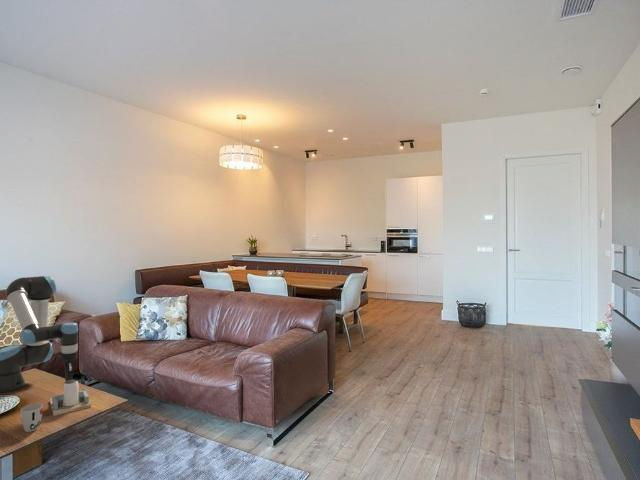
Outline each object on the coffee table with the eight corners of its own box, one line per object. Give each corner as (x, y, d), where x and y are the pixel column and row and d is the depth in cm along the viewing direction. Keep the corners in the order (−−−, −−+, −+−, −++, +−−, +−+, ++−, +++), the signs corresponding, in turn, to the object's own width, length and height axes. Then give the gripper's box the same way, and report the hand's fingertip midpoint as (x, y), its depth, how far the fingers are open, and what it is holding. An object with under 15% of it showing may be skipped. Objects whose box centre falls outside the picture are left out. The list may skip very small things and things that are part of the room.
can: (75, 400, 201) (75, 378, 201) (80, 403, 197) (80, 381, 197) (61, 404, 196) (61, 381, 196) (65, 408, 192) (66, 384, 192)
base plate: (49, 401, 202) (49, 393, 202) (84, 394, 212) (84, 386, 212) (53, 415, 187) (53, 406, 187) (90, 407, 197) (90, 398, 197)
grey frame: (52, 402, 198) (52, 396, 198) (85, 395, 207) (85, 389, 207) (54, 409, 189) (54, 404, 189) (88, 402, 199) (88, 396, 199)
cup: (30, 434, 169) (30, 412, 169) (15, 432, 171) (16, 410, 171) (46, 425, 177) (47, 404, 177) (32, 423, 179) (33, 402, 179)
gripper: (59, 350, 206) (58, 392, 206) (62, 356, 196) (61, 401, 196) (75, 347, 211) (75, 389, 211) (79, 353, 201) (78, 397, 201)
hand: (68, 394), depth 204 cm, fingers closed
